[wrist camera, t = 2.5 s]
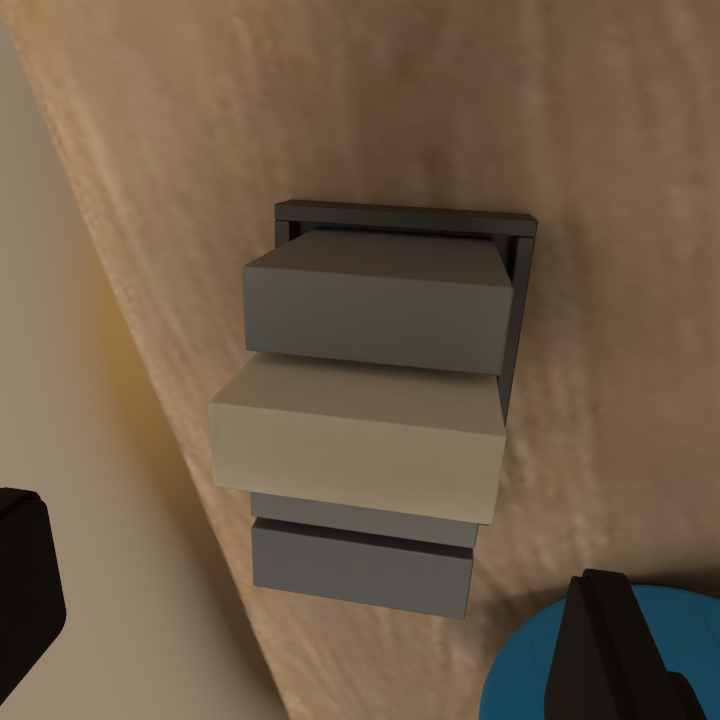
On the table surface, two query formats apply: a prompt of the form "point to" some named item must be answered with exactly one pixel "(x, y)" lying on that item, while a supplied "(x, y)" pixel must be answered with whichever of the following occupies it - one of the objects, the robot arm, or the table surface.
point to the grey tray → (504, 228)
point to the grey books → (382, 346)
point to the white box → (361, 435)
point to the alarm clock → (668, 628)
